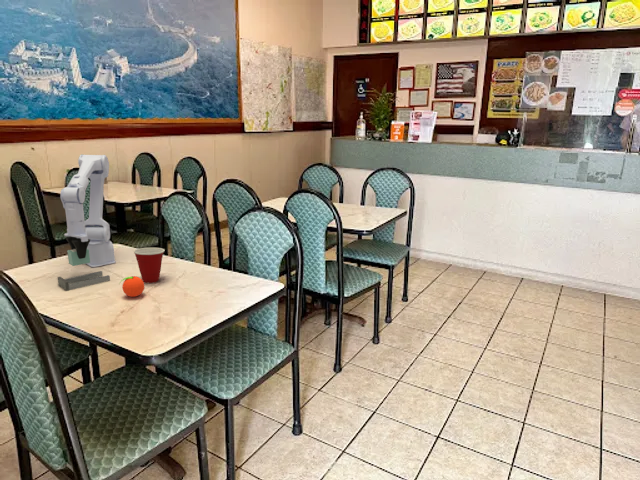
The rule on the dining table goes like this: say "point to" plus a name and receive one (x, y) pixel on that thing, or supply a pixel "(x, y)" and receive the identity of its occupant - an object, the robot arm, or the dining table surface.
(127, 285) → the clementine
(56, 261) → the dining table surface
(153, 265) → the plastic cup
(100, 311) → the dining table surface
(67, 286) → the rail
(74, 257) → the module
